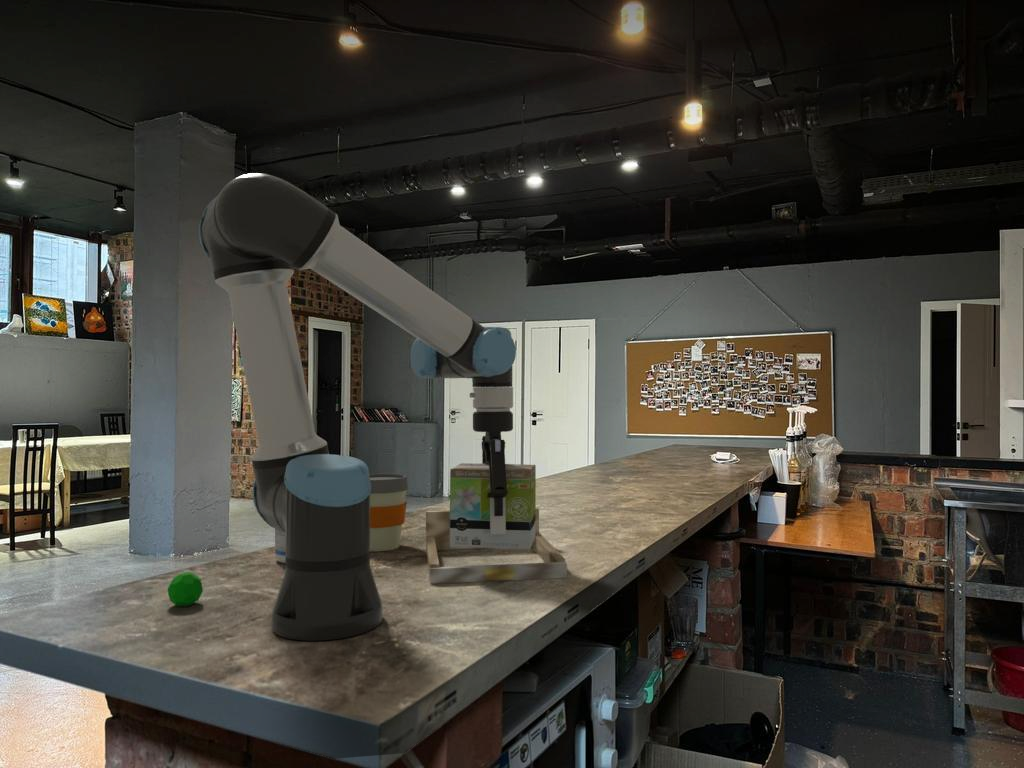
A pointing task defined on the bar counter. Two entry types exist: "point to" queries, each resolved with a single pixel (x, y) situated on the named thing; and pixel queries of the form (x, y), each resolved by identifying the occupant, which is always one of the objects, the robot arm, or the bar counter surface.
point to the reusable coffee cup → (387, 510)
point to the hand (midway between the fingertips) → (493, 527)
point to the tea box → (475, 507)
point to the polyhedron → (185, 589)
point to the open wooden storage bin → (441, 541)
